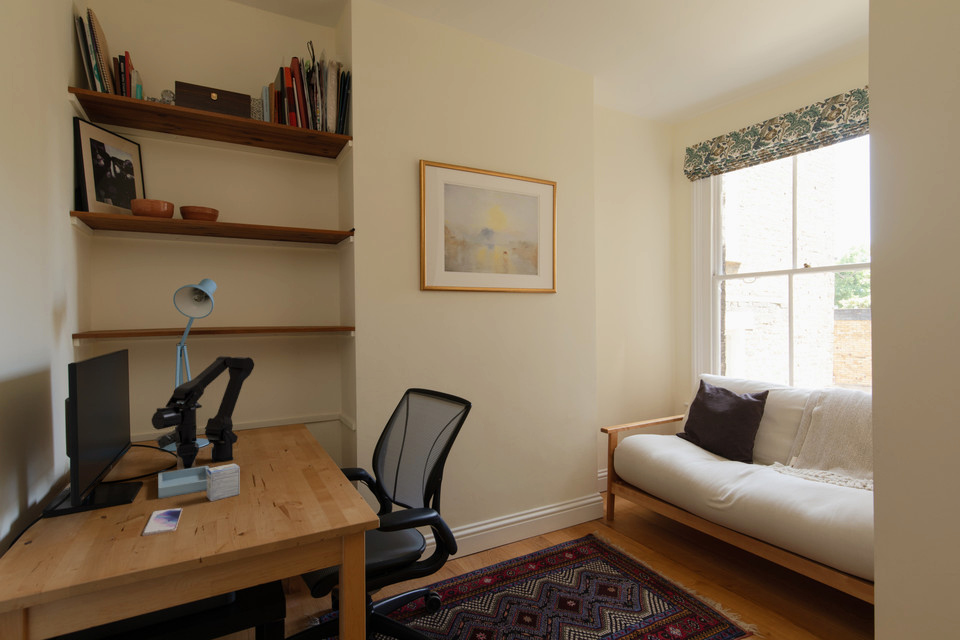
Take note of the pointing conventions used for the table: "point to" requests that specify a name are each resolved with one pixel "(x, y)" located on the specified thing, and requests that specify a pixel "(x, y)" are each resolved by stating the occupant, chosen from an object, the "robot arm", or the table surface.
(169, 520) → the smartphone
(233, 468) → the medicine box
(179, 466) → the walnut block
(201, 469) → the tray
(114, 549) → the table surface
